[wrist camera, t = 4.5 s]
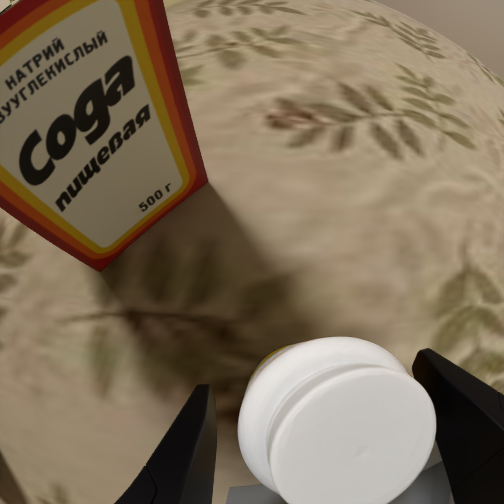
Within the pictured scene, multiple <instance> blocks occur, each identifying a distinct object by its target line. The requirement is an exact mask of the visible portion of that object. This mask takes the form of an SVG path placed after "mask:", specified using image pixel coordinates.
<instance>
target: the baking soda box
mask: <svg viewBox="0 0 504 504" xmlns="http://www.w3.org/2000/svg"><path fill="white" fill-rule="evenodd" d="M13 1H14V0H10V3H11V2H13ZM10 6H11V7H10ZM6 9H7V10H6ZM2 12H3V13H2ZM2 12H0V207H1V208H2V209H3V210H5V211H6V212H7V213H9V214H10V215H11V216H13V217H14V218H16V219H17V220H18V221H20V222H21V223H23V224H24V225H26V226H27V227H28V228H30V229H31V230H33V231H34V232H36V233H37V234H39V235H40V236H42V237H43V238H45V239H46V240H48V241H49V242H51V243H52V244H54V245H56V246H57V247H59V248H60V249H62V250H63V251H65V252H67V253H68V254H70V255H71V256H73V257H75V258H76V259H78V260H80V261H81V262H83V263H85V264H86V265H88V266H90V267H91V268H93V269H95V270H97V271H98V272H101V271H102V270H103V269H104V268H105V267H106V266H107V265H108V264H109V263H110V262H112V261H113V260H114V259H115V258H116V257H117V256H118V255H119V254H120V253H122V252H123V251H124V250H125V249H126V248H127V247H128V246H129V245H131V244H132V243H133V242H134V241H135V240H136V239H138V238H139V237H140V236H141V235H142V234H143V233H145V232H146V231H147V230H148V229H149V228H150V227H152V226H153V225H154V224H155V223H156V222H158V221H159V220H160V219H161V218H163V217H164V216H165V215H166V214H167V213H169V212H170V211H171V210H172V209H174V208H175V207H176V206H177V205H179V204H180V203H181V202H183V201H184V200H185V199H186V198H188V197H189V196H190V195H191V194H193V193H194V192H195V191H197V190H198V189H199V188H201V187H202V186H203V185H205V184H206V183H207V182H209V181H208V178H207V174H206V171H205V167H204V163H203V160H202V156H201V152H200V148H199V145H198V141H197V137H196V133H195V130H194V126H193V122H192V118H191V114H190V111H189V107H188V103H187V99H186V95H185V91H184V87H183V83H182V79H181V75H180V71H179V67H178V63H177V59H176V55H175V51H174V46H173V42H172V38H171V34H170V30H169V25H168V21H167V17H166V12H165V8H164V3H163V0H19V1H17V2H16V3H15V4H13V5H9V6H8V7H7V8H5V9H4V10H3V11H2Z"/></svg>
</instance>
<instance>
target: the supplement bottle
mask: <svg viewBox="0 0 504 504" xmlns="http://www.w3.org/2000/svg"><path fill="white" fill-rule="evenodd" d="M435 434H436V414H435V410H434V406H433V403H432V401H431V399H430V397H429V395H428V393H427V392H426V390H425V389H424V388H423V387H422V386H421V384H419V383H418V382H417V381H416V380H415V379H414V378H412V377H411V376H409V375H408V373H407V371H406V370H405V368H404V367H403V365H402V364H401V363H400V362H399V361H398V360H397V359H396V358H395V357H394V356H393V355H392V354H391V353H389V352H388V351H387V350H385V349H383V348H382V347H380V346H378V345H376V344H374V343H372V342H369V341H366V340H362V339H358V338H352V337H326V338H320V339H314V340H310V341H306V342H301V343H296V344H290V345H287V346H284V347H281V348H279V349H277V350H275V351H273V352H271V353H270V354H269V355H267V356H266V357H265V358H264V359H263V360H261V362H260V363H259V364H258V365H257V367H256V368H255V370H254V372H253V373H252V375H251V378H250V380H249V383H248V386H247V389H246V392H245V396H244V399H243V402H242V406H241V409H240V414H239V420H238V440H239V446H240V450H241V453H242V456H243V458H244V461H245V463H246V465H247V466H248V468H249V469H250V471H251V472H252V474H253V475H254V476H255V477H256V478H257V479H258V480H259V481H260V482H261V483H262V484H263V485H264V486H266V487H267V488H269V489H270V490H272V491H274V492H275V493H277V494H280V496H281V497H282V498H283V499H284V500H285V501H286V502H287V503H288V504H388V503H389V502H391V501H392V500H394V499H395V498H396V497H398V496H399V495H400V494H401V493H402V492H404V491H405V490H406V489H407V488H408V487H409V486H410V485H411V484H412V483H413V481H414V480H415V479H416V478H417V477H418V475H419V474H420V472H421V471H422V469H423V468H424V466H425V464H426V462H427V460H428V458H429V456H430V453H431V451H432V448H433V445H434V440H435Z"/></svg>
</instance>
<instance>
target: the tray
mask: <svg viewBox="0 0 504 504" xmlns="http://www.w3.org/2000/svg"><path fill="white" fill-rule="evenodd" d="M226 504H288V503H287V502H286V501H285V500H284V499H283V498H282V497H281V496H280V494H277V493H275V492H274V491H272V490H270V489H269V488H267V487H266V486H264V485H263V484H260V485H252V486H242V487H230V488H229V493H228V497H227V501H226ZM388 504H455V503H454V500H453V496H452V492H451V488H450V484H449V481H448V477H447V474H446V471H445V468H444V464H443V461H442V458H441V455H440V452H439V449H438V446H437V443H436V440H434V445H433V448H432V451H431V453H430V456H429V458H428V460H427V462H426V464H425V466H424V468H423V469H422V471H421V472H420V474H419V475H418V477H417V478H416V479H415V480H414V481H413V483H412V484H411V485H410V486H409V487H408V488H407V489H406V490H405V491H404V492H402V493H401V494H400V495H399V496H398V497H396V498H395V499H394V500H392V501H391V502H389V503H388Z"/></svg>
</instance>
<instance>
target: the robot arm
mask: <svg viewBox="0 0 504 504" xmlns="http://www.w3.org/2000/svg"><path fill="white" fill-rule="evenodd" d="M412 372H413V375H414V379H415V380H416V381H417V382H418V383H419V384H421V386H422V387H423V388H424V389H425V390H426V392H427V393H428V395H429V397H430V399H431V401H432V403H433V406H434V410H435V414H436V434H435V440H436V443H437V446H438V449H439V452H440V455H441V458H442V461H443V464H444V468H445V471H446V474H447V477H448V481H449V484H450V488H451V492H452V496H453V500H454V503H455V504H504V395H503V394H502V393H500V392H497V390H495V389H494V388H492V387H490V386H489V385H487V384H486V383H484V382H483V381H481V380H479V379H478V378H476V377H475V376H473V375H471V374H470V373H468V372H467V371H465V370H463V369H462V368H460V367H459V366H457V365H455V364H454V363H452V362H451V361H449V360H447V359H446V358H444V357H443V356H441V355H439V354H438V353H436V352H435V351H433V350H431V349H429V348H426V349H423V350H420V351H419V352H418V353H417V355H416V358H415V360H414V363H413V365H412ZM216 450H217V428H216V402H215V397H214V394H213V391H212V388H211V386H210V385H209V384H199V385H197V386H196V388H195V389H194V391H193V392H192V394H191V396H190V397H189V399H188V400H187V402H186V403H185V405H184V406H183V408H182V410H181V411H180V413H179V414H178V416H177V417H176V419H175V420H174V422H173V423H172V425H171V427H170V428H169V430H168V431H167V433H166V434H165V436H164V437H163V439H162V440H161V442H160V443H159V445H158V446H157V448H156V449H155V451H154V452H153V454H152V455H151V457H150V458H149V460H148V461H147V463H146V466H144V467H143V469H142V470H141V472H140V473H139V475H138V476H137V477H136V479H135V480H134V481H133V483H132V484H131V485H130V487H129V488H128V489H127V490H126V491H125V492H124V493H123V495H122V496H121V497H120V498H119V499H118V500H117V501H116V502H115V503H114V504H212V494H213V483H214V471H215V461H216Z"/></svg>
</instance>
